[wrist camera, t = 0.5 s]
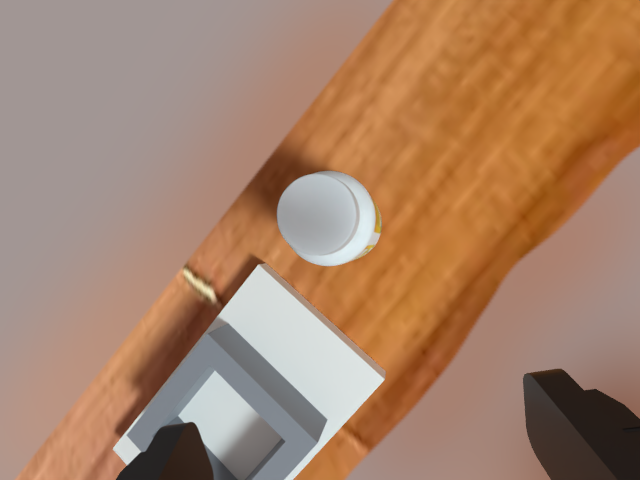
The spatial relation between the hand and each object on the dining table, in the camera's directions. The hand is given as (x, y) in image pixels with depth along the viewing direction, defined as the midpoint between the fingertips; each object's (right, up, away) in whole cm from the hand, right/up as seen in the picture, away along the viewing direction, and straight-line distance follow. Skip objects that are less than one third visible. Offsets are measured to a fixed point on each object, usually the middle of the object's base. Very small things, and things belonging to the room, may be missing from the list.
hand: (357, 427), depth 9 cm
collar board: (-7, -9, +20) cm, 23 cm away
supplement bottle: (+1, +6, +18) cm, 19 cm away
